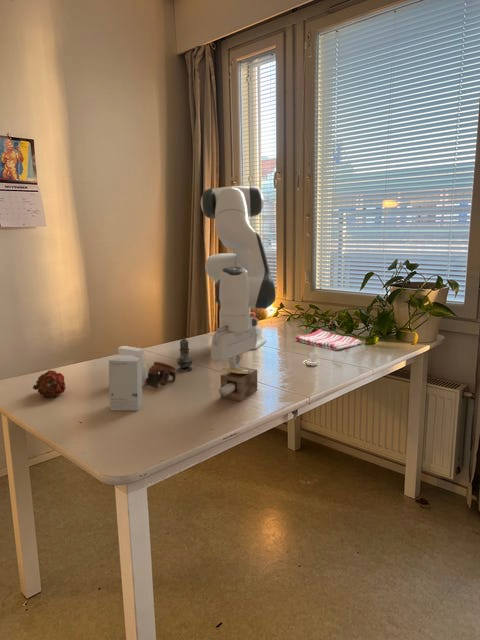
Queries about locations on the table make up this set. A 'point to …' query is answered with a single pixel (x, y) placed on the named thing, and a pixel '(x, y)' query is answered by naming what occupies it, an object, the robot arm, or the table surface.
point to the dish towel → (328, 340)
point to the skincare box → (125, 383)
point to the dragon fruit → (50, 384)
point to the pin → (228, 388)
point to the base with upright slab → (135, 352)
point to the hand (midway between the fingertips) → (234, 369)
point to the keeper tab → (235, 370)
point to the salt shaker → (184, 357)
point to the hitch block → (240, 383)
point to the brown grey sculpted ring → (163, 376)
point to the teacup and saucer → (312, 359)
